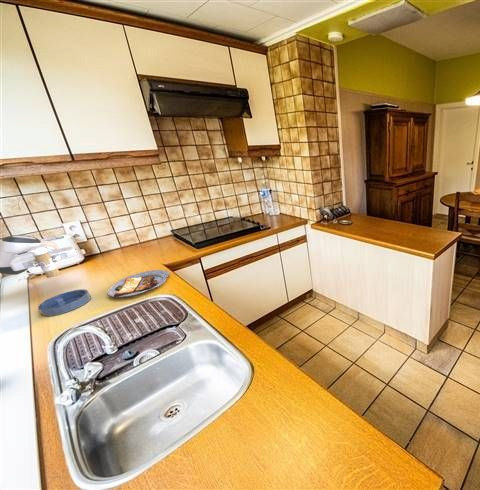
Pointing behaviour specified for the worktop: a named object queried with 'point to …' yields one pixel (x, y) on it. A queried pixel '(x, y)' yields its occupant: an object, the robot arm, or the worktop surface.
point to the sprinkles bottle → (46, 262)
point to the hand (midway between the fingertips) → (45, 262)
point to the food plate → (138, 283)
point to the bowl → (64, 302)
